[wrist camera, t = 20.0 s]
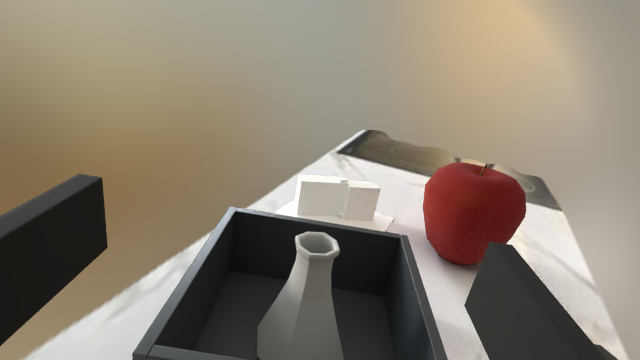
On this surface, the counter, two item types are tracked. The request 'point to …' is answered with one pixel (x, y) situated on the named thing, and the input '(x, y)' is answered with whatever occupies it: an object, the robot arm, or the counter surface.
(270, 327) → the flask
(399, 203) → the counter surface
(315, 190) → the napkin holder
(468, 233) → the apple
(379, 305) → the storage bin
